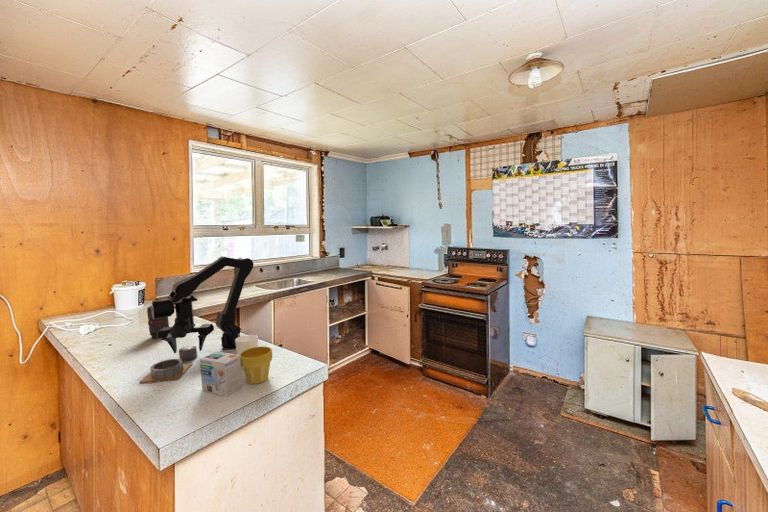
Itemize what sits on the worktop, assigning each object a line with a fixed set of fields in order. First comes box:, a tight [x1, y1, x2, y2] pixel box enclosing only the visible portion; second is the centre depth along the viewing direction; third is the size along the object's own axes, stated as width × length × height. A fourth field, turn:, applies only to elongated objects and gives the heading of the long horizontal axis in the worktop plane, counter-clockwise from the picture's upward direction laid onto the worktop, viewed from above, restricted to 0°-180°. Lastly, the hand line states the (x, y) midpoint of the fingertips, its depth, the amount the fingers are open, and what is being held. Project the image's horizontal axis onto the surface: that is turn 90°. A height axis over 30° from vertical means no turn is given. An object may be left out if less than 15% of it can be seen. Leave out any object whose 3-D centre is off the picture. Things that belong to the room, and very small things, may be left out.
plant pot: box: [239, 346, 273, 385], centre depth 110 cm, size 10×10×10 cm
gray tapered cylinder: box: [178, 345, 198, 363], centre depth 130 cm, size 6×6×4 cm
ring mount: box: [139, 358, 193, 384], centre depth 117 cm, size 12×12×3 cm
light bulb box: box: [199, 350, 243, 397], centre depth 105 cm, size 11×7×11 cm, turn 69°
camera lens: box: [146, 305, 170, 340], centre depth 155 cm, size 8×8×15 cm
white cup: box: [235, 334, 259, 368], centre depth 123 cm, size 8×8×10 cm
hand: (188, 351), depth 130 cm, fingers open, 9 cm apart
